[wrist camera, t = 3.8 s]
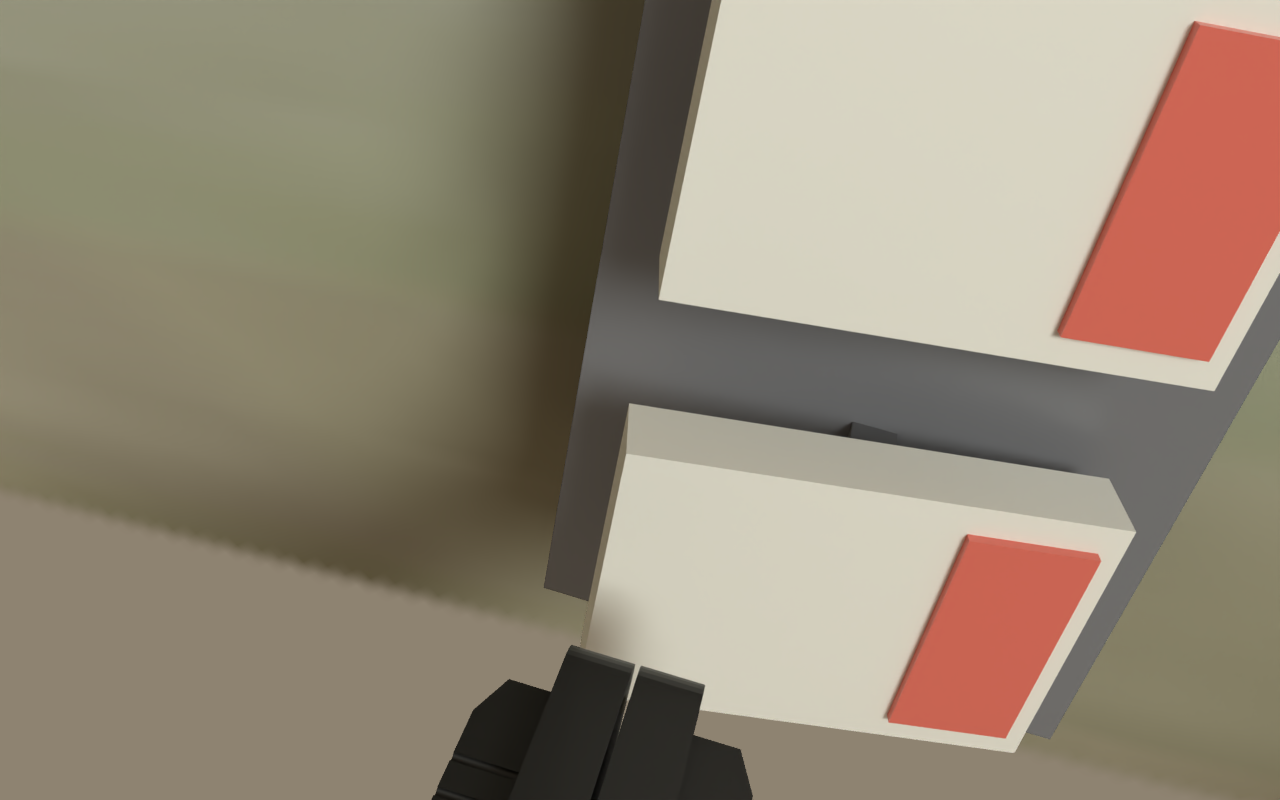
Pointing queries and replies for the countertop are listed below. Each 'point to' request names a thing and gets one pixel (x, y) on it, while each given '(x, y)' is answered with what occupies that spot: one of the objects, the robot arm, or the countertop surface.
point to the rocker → (848, 576)
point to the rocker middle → (989, 176)
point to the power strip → (857, 374)
